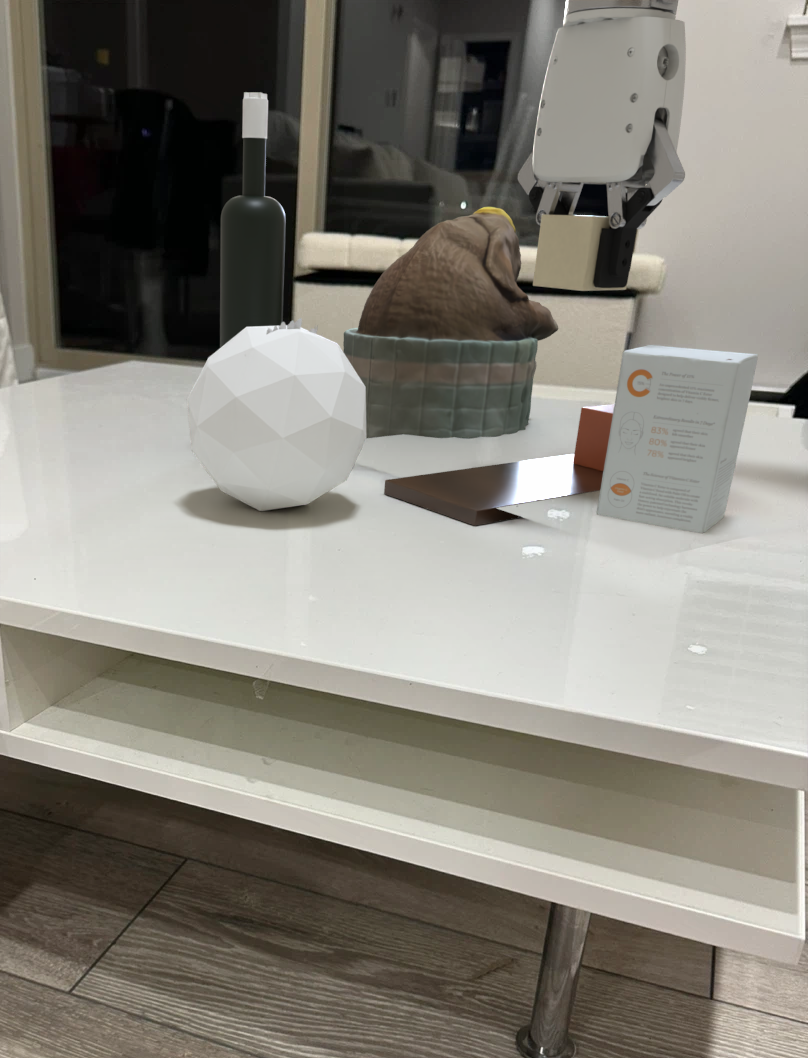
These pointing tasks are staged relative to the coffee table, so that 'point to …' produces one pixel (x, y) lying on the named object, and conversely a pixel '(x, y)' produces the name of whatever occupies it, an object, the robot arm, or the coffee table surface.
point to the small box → (675, 435)
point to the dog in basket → (450, 335)
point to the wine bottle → (252, 237)
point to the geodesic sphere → (277, 416)
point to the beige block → (569, 252)
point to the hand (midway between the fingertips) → (580, 281)
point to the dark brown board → (495, 487)
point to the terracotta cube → (593, 436)
